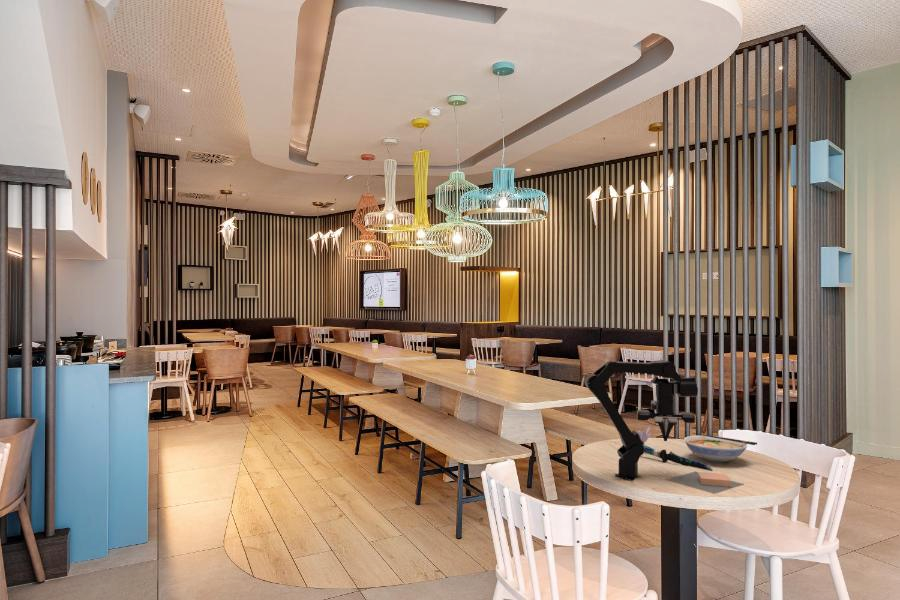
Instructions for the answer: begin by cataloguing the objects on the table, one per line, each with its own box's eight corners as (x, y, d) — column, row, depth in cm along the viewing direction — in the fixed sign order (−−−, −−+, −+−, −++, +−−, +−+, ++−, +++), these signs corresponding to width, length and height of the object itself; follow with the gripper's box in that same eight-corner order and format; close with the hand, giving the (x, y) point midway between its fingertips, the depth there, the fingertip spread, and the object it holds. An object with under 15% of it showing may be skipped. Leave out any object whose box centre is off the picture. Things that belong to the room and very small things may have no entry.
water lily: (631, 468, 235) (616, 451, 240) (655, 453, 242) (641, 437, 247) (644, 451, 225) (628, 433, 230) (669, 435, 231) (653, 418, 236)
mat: (714, 495, 181) (714, 493, 181) (665, 480, 195) (665, 479, 195) (744, 485, 191) (744, 484, 191) (695, 472, 206) (695, 471, 206)
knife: (634, 452, 229) (635, 442, 229) (639, 451, 231) (640, 440, 231) (708, 479, 205) (709, 466, 205) (712, 477, 207) (713, 465, 207)
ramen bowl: (669, 458, 226) (669, 437, 227) (699, 449, 240) (699, 430, 241) (732, 472, 207) (732, 449, 207) (761, 462, 221) (761, 441, 221)
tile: (701, 478, 189) (730, 480, 187) (697, 471, 197) (725, 474, 195) (701, 485, 189) (730, 487, 187) (697, 478, 197) (725, 480, 195)
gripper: (690, 394, 205) (690, 437, 204) (636, 392, 210) (636, 434, 209) (695, 398, 194) (695, 444, 194) (637, 396, 199) (637, 441, 199)
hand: (665, 440), depth 199 cm, fingers closed
